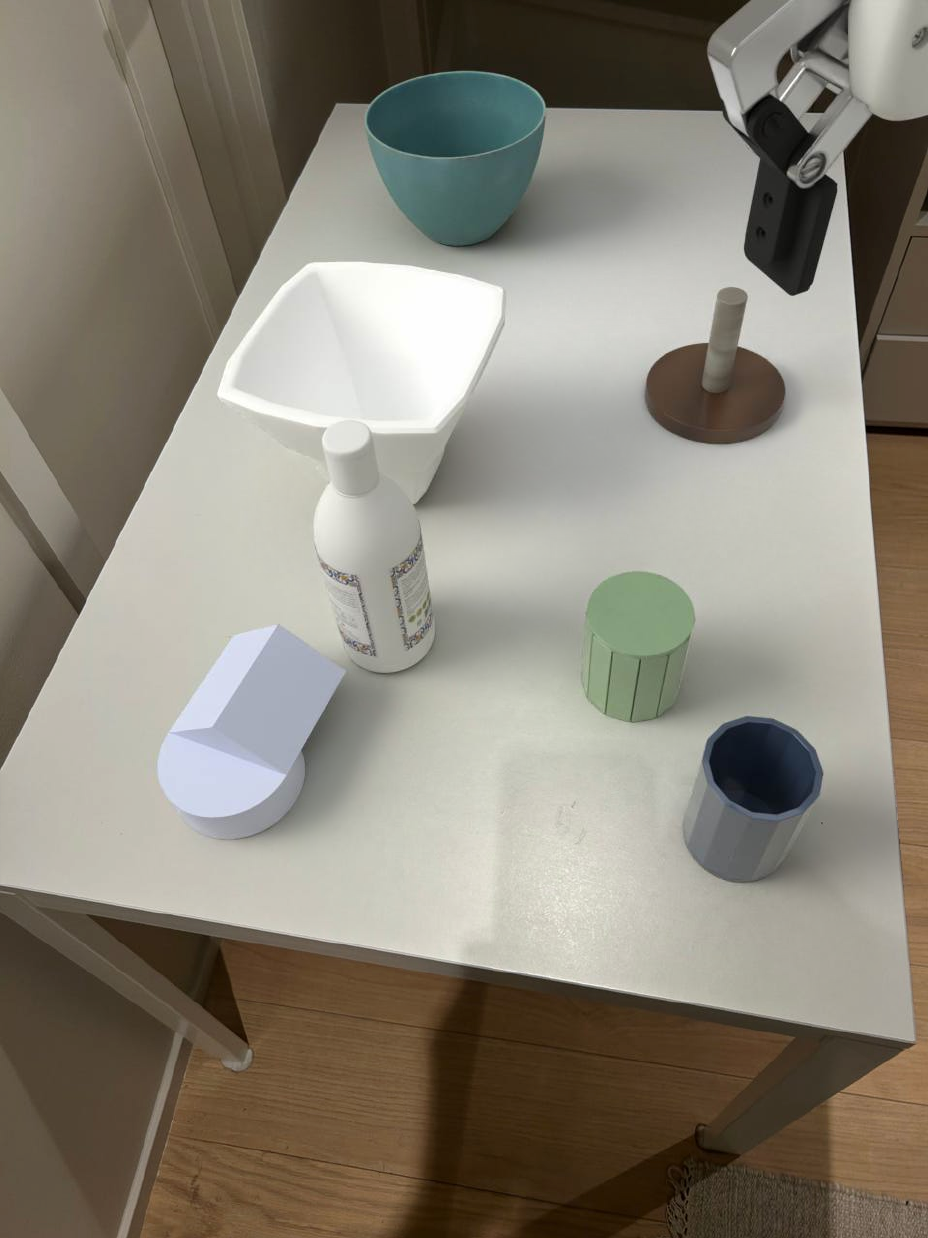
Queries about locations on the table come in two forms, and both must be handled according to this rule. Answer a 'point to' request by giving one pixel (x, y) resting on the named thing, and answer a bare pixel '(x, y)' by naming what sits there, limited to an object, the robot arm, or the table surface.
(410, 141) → the plant pot
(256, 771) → the wedge on round base
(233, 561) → the table surface
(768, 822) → the blue cup
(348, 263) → the bowl
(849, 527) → the table surface
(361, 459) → the bath foam
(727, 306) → the disc
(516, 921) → the table surface
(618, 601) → the green cup
